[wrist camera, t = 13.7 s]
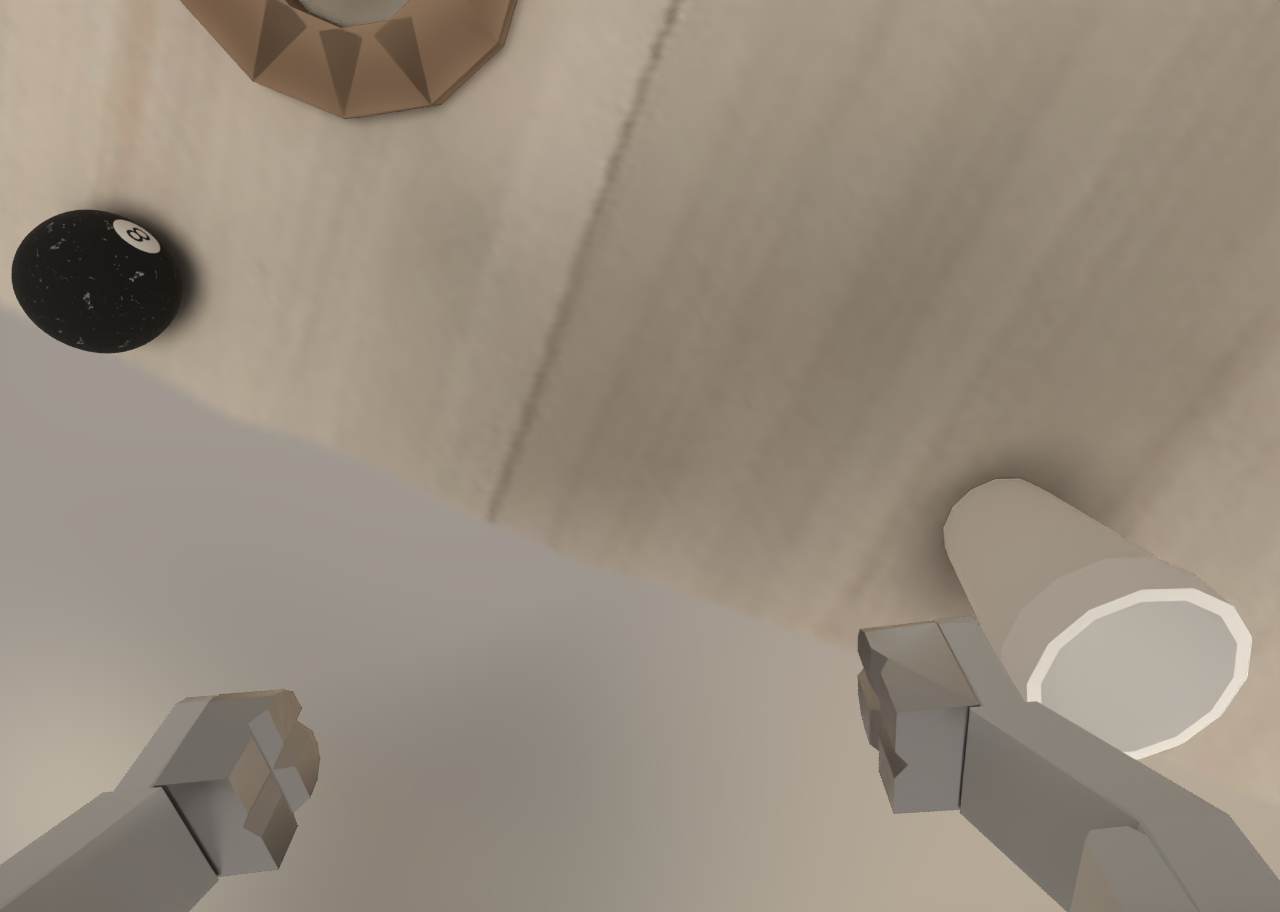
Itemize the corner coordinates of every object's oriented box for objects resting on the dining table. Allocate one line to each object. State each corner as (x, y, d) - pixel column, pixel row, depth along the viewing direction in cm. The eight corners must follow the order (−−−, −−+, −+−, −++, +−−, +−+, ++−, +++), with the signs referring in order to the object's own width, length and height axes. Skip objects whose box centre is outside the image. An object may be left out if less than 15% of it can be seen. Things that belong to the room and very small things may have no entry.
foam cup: (1114, 491, 44) (1300, 635, 32) (1015, 614, 47) (1150, 786, 35) (977, 427, 42) (1121, 555, 30) (885, 560, 45) (981, 723, 33)
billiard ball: (229, 270, 37) (164, 300, 31) (160, 355, 39) (86, 397, 33) (116, 175, 35) (25, 188, 30) (47, 268, 37) (-52, 297, 31)
